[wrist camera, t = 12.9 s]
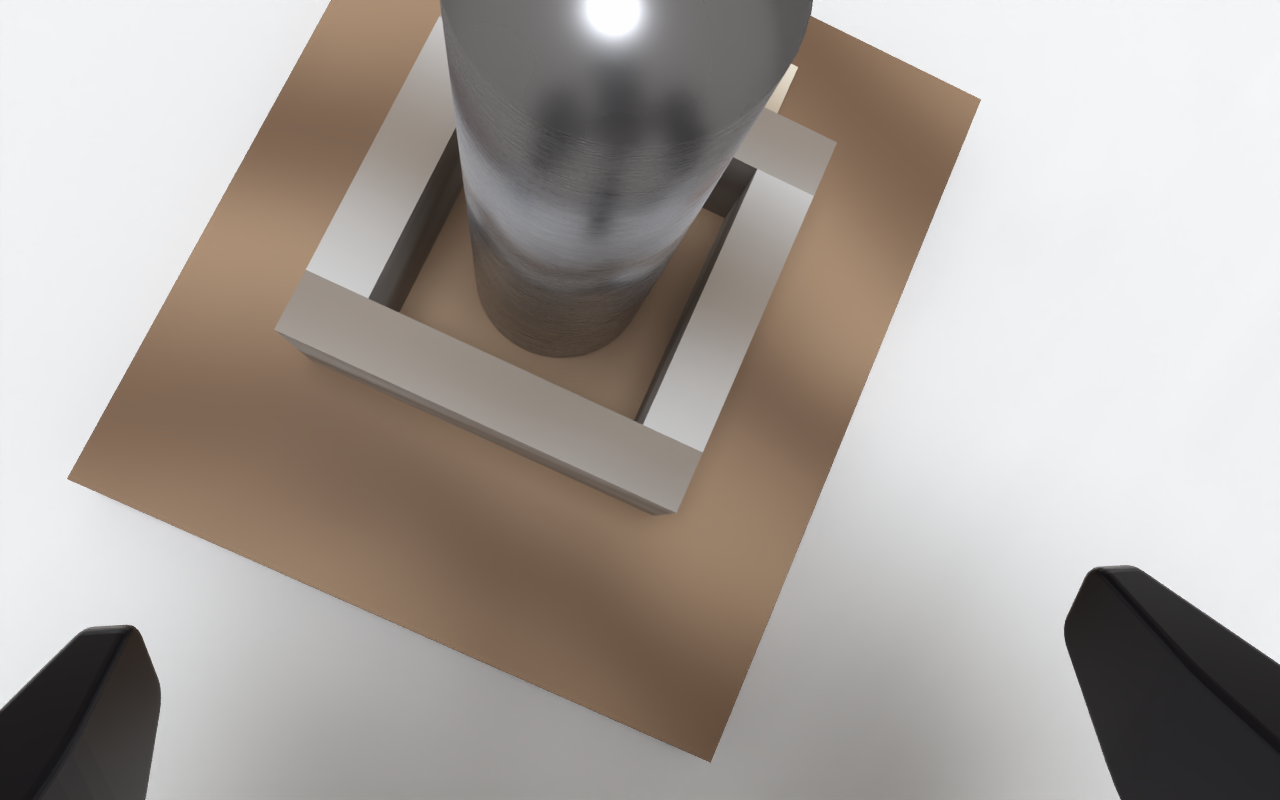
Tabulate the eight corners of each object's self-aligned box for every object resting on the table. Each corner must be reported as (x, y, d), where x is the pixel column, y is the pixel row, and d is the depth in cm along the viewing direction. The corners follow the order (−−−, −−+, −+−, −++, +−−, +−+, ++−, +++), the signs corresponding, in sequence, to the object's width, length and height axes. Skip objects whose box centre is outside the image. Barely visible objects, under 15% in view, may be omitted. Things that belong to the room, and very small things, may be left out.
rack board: (697, 746, 22) (743, 802, 17) (99, 482, 21) (-14, 469, 16) (953, 125, 24) (1049, 35, 20) (432, -129, 24) (412, -282, 19)
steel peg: (676, 302, 21) (883, 31, 10) (534, 390, 21) (572, 216, 9) (585, 163, 21) (681, -274, 10) (443, 247, 21) (359, -111, 9)
